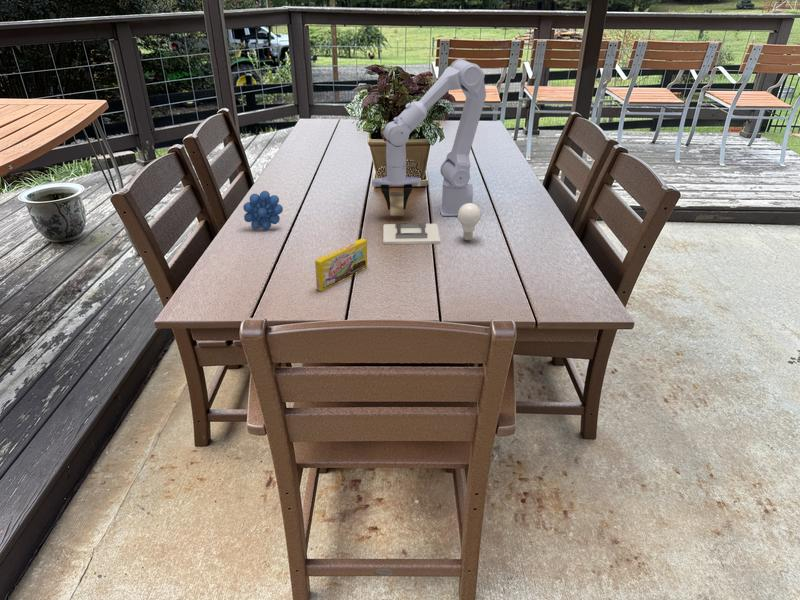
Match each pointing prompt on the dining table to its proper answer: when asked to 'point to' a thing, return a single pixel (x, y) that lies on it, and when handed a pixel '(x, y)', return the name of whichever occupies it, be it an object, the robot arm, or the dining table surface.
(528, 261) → the dining table surface
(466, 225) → the lightbulb
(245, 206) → the blue knobbed flower
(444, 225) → the dining table surface
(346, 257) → the candy box
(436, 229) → the socket board
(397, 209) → the birch block
